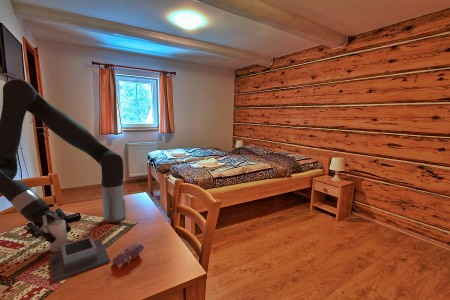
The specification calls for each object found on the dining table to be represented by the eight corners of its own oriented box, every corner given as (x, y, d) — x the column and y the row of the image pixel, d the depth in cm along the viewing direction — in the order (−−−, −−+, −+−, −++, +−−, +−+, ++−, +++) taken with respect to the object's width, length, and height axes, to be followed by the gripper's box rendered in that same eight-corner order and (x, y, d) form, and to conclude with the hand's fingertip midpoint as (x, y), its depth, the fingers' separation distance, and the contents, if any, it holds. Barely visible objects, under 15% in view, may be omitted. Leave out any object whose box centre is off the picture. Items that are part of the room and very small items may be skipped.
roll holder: (100, 241, 91) (99, 230, 90) (110, 261, 79) (109, 248, 78) (50, 257, 81) (48, 244, 80) (52, 282, 69) (51, 267, 68)
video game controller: (117, 272, 76) (122, 259, 73) (110, 262, 77) (114, 249, 75) (142, 257, 84) (147, 244, 81) (135, 248, 86) (139, 236, 83)
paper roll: (67, 242, 90) (64, 218, 89) (68, 248, 86) (65, 223, 84) (50, 246, 87) (47, 222, 85) (50, 253, 83) (47, 227, 81)
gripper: (16, 206, 77) (51, 240, 78) (52, 192, 91) (81, 221, 92) (4, 219, 78) (39, 253, 79) (41, 204, 93) (70, 232, 93)
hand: (62, 236), depth 85 cm, fingers open, 6 cm apart
